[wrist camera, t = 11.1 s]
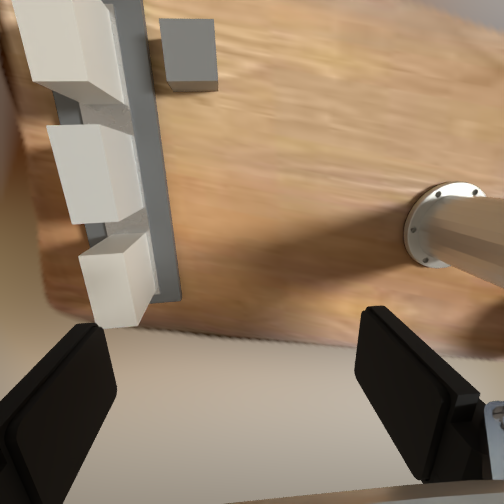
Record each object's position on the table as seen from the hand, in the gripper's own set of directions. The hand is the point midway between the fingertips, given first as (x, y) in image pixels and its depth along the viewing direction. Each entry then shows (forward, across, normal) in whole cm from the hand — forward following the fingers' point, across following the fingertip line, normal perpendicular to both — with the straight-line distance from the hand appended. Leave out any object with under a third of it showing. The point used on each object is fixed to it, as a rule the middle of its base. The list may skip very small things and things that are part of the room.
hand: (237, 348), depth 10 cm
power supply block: (+26, +4, -17) cm, 31 cm away
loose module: (+24, +13, -6) cm, 28 cm away
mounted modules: (+24, +13, -6) cm, 28 cm away
